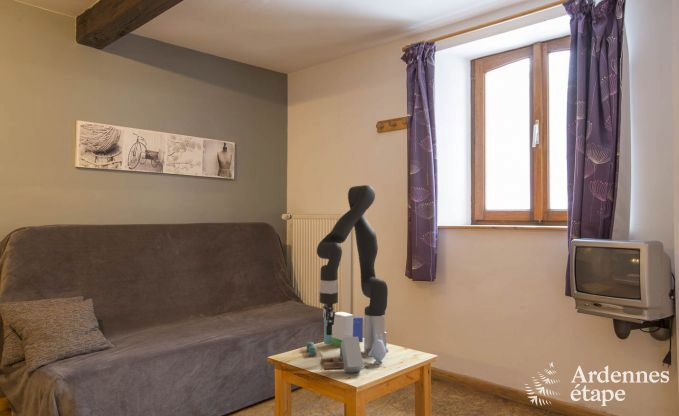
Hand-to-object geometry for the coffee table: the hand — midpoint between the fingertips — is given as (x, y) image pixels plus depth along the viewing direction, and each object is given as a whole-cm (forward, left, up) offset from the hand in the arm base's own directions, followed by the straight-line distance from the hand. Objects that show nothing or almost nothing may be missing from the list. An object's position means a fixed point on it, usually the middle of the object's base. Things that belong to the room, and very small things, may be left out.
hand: (328, 333), depth 191 cm
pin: (0, 0, -4) cm, 4 cm away
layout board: (+4, -16, -13) cm, 21 cm away
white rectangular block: (-8, +5, -9) cm, 13 cm away
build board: (-3, 0, -13) cm, 14 cm away
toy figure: (-21, 0, -14) cm, 25 cm away
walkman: (-20, -35, -14) cm, 43 cm away
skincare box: (-12, -27, -14) cm, 33 cm away
